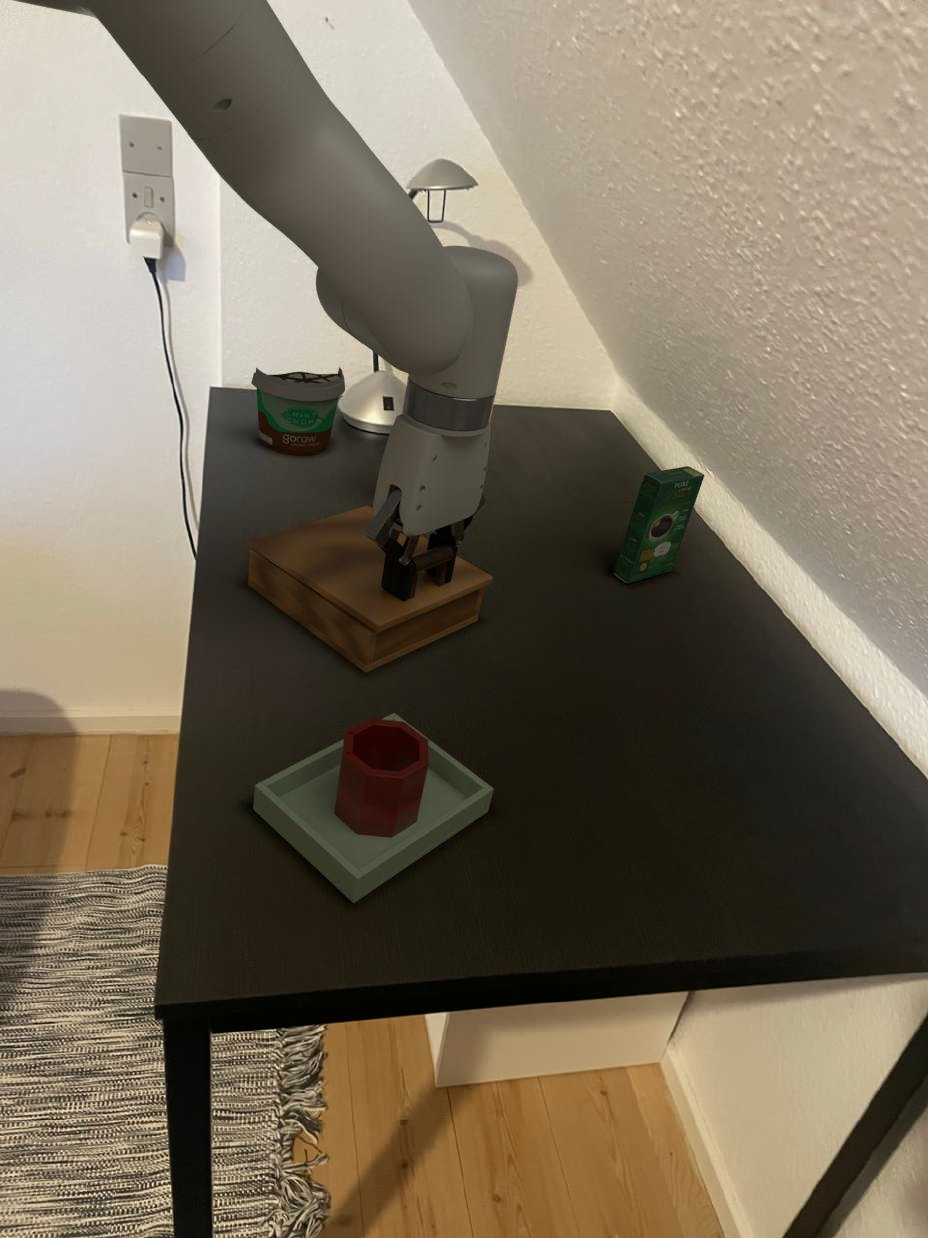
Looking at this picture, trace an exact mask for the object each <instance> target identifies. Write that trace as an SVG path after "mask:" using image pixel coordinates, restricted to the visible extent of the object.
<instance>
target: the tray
mask: <svg viewBox="0 0 928 1238" xmlns="http://www.w3.org/2000/svg"><path fill="white" fill-rule="evenodd" d="M382 719H383V720H392V721H401V722H405V723H406V724H408V725H409V726H410V727H412V728H413V729H414V730H416V731H417V732H418V733H419V734H421V735H422V736H423V737H425V738H426V739H427V740H428V751H429V764H428V769H427V774H426V779H425V784H424V789H423V794H422V798H421V803H420V808H419V813H418V818H417V822H416V823H414V824H413V825H411V826H409V827H408V828H406V829H405V830H403V831H402V832H400V833H399V834H397V835H395V836H394V837H380V836H369V835H358V834H356V833H355V832H354V831H353V830H352V829H351V828H350V827H348V826H347V825H346V824H345V823H344V822H343V821H342V820H341V819H339V818H338V817H337V816H336V815H335V803H336V793H337V785H338V778H339V770H340V763H341V756H342V749H343V741H344V738H343V739H340V740H338V741H337V742H334V743H333V744H331V745H329V746H327V747H325V748H324V749H321V750H319V751H317V752H316V753H313V754H312V755H310V756H307V757H306V758H304V759H302V760H300V761H298V762H296V763H294V764H292V765H290V766H289V767H287V768H285V769H283V770H281V771H279V772H277V773H275V774H273V775H271V776H270V777H268V778H265V779H264V780H261V781H259V782H258V783H256V784H254V791H253V793H254V794H253V805H252V806H253V807H252V810H253V811H254V812H255V813H256V814H258V816H260V818H262V820H264V821H265V822H266V823H267V824H268V825H269V826H270V827H271V828H273V829H274V830H275V832H277V833H278V834H279V835H280V837H282V838H283V839H284V840H285V841H286V842H287V843H288V844H289V845H291V846H292V848H294V850H296V851H297V852H298V853H299V854H300V855H301V856H302V857H303V858H305V859H306V861H308V862H309V864H311V865H312V866H313V867H314V868H315V869H316V870H317V871H318V872H319V873H320V874H321V875H323V876H324V877H325V878H326V879H327V880H328V881H329V882H330V883H331V884H332V885H334V887H335V888H336V889H338V891H339V892H341V894H343V895H344V896H345V897H346V898H347V899H348V900H349V901H350V902H351V903H352V904H355V903H357V902H358V901H359V900H361V899H362V898H364V897H365V896H367V895H368V894H370V893H371V892H372V891H374V890H376V889H377V888H378V887H380V886H381V885H383V884H384V883H386V882H387V881H388V880H390V879H392V878H393V877H394V876H396V875H398V874H399V873H400V872H401V871H403V870H405V869H406V868H407V867H409V866H411V865H412V864H414V863H415V862H416V861H418V860H419V859H421V858H422V857H424V856H426V854H428V853H430V852H431V851H432V850H434V849H436V848H437V847H439V846H440V845H441V844H443V843H445V842H446V841H447V840H449V839H450V838H452V837H453V836H454V835H456V834H457V833H459V832H460V831H462V830H464V829H465V828H466V827H468V826H469V825H471V824H472V823H473V822H475V821H476V820H479V818H482V816H484V815H485V814H487V813H488V812H489V809H490V805H491V802H492V797H493V794H494V790H495V789H494V787H492V786H491V785H490V784H488V783H487V782H485V780H483V779H482V778H481V777H479V776H478V775H476V774H475V773H474V772H473V771H472V770H470V769H469V768H467V767H466V766H465V765H463V764H462V763H461V762H460V761H458V760H457V759H456V758H455V757H453V756H452V755H450V754H449V753H448V752H447V751H445V750H444V749H443V748H441V747H440V746H438V745H437V744H436V743H435V742H433V741H432V740H431V739H429V738H428V737H426V735H424V734H423V733H422V732H420V731H419V730H418V729H416V728H415V727H414V726H412V725H411V724H410V723H408V722H407V721H405V720H404V719H403V718H402V717H401V716H399V715H398V714H397V713H395V712H393V713H391V714H389V715H386V716H385V717H383V718H382Z"/></svg>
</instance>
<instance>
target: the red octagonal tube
mask: <svg viewBox="0 0 928 1238" xmlns="http://www.w3.org/2000/svg"><path fill="white" fill-rule="evenodd" d="M408 724H409V723H408ZM408 724H406V723H405V722H401V721H392V720H383V718H373V717H370V718H368V719H366V720H364V721H363V722H360V723H358V724H356V725H354V726H352V727H350V728H348V729H347V730H345V731H344V734H343V739H344V741H343V749H342V756H341V763H340V770H339V778H338V785H337V793H336V803H335V815H336V816H337V817H338V818H339V819H341V820H342V821H343V822H344V823H345V824H346V825H347V826H348V827H350V828H351V829H352V830H353V831H354V832H355V833H356V834H358V835H369V836H380V837H394V836H395V835H397V834H399V833H400V832H402V831H403V830H405V829H406V828H408V827H409V826H411V825H413V824H414V823H416V822H417V818H418V813H419V808H420V803H421V798H422V794H423V789H424V784H425V779H426V774H427V769H428V764H429V751H428V740H427V739H426V738H425V737H426V736H425V737H423V736H422V735H421V734H422V733H421V734H419V733H418V732H417V731H418V730H417V729H416V730H417V731H416V730H414V729H413V728H414V727H413V726H412V727H413V728H412V727H410V726H409V725H408Z"/></svg>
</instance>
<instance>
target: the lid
mask: <svg viewBox="0 0 928 1238" xmlns="http://www.w3.org/2000/svg"><path fill="white" fill-rule="evenodd" d="M374 518H375V517H374V516H373V507H371V506H370V505H364V506H362V507H358V508H354V509H350V510H347V511H345V512H341V513H338V514H334V515H331V516H328V517H323V518H321V519H318V520H314V521H311V522H308V523H304V524H301V525H297V526H295V527H292V528H291V527H290V528H287V529H284V530H281V531H278V532H274V533H271V534H268V535H265V536H262V537H258V538H254V539H252V540H250V544H249V549H250V548H252V549H253V550H255V551H256V552H258V553H259V554H261V555H262V556H264V557H265V558H267V559H268V560H270V561H271V562H273V563H274V564H276V565H277V566H279V567H280V568H282V569H283V570H285V571H286V572H288V573H289V574H291V575H292V576H294V577H295V578H297V579H298V580H300V581H301V582H303V583H304V584H306V585H307V586H309V587H310V588H312V589H313V590H315V591H316V592H318V593H319V594H321V595H322V596H324V597H325V598H327V599H328V600H330V601H331V602H333V603H334V604H336V605H337V606H339V607H340V608H342V609H343V610H345V611H346V612H348V613H349V614H351V615H352V616H354V617H355V618H357V619H358V620H360V621H361V622H363V623H364V624H366V625H367V626H369V627H370V628H372V629H373V630H375V631H376V632H378V633H379V632H381V631H384V630H386V629H388V628H391V627H393V626H395V625H398V624H400V623H402V622H405V621H407V620H409V619H411V618H414V617H416V616H418V615H421V614H423V613H425V612H428V611H430V610H432V609H435V608H437V607H439V606H442V605H444V604H446V603H449V602H451V601H453V600H456V599H458V598H460V597H463V596H465V595H467V594H470V593H472V592H474V591H476V590H479V589H481V588H483V587H488V586H491V585H493V582H494V576H493V575H491V574H489V573H487V572H485V571H483V570H482V569H480V568H479V567H476V566H475V565H473V564H471V563H469V562H468V561H466V560H464V559H463V558H461V557H459V556H457V555H456V560H455V565H454V570H453V575H452V580H451V581H450V582H448V583H444V582H445V576H446V569H447V563H448V561H450V560H451V559H452V558H453V555H454V553H453V549H452V548H451V546H449V545H448V544H444V545H441V546H439V547H436V548H433V549H430V550H428V551H427V547H428V541H429V539H427V538H426V537H424V536H422V535H420V538H419V541H418V543H417V546H416V549H415V551H414V554H413V556H412V559H411V562H413V563H414V564H415V568H414V575H413V580H412V586H411V592H410V597H409V599H408V600H405V601H401V600H400V599H398V598H397V597H395V596H394V595H392V594H391V593H389V592H388V591H386V590H385V589H383V588H382V586H381V581H382V575H383V568H384V562H385V555H386V554H385V553H383V552H382V550H381V548H380V547H379V546H378V545H377V544H376V543H375V542H373V541H372V540H371V539H369V538H368V537H367V536H366V535H365V533H366V530H367V528H368V527H369V525H370V524H371V522H372V521H373V519H374ZM406 537H407V536H405V535H404V534H402V533H400V534H399V537H398V540H397V541H398V542H399V543H400V545H401V546H402V547H403V545H404V542H405V540H406ZM434 566H437V570H436V577H434V576H432V575H431V574H429V573H428V572H426V571H425V570H426V569H429V568H432V567H434Z"/></svg>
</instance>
